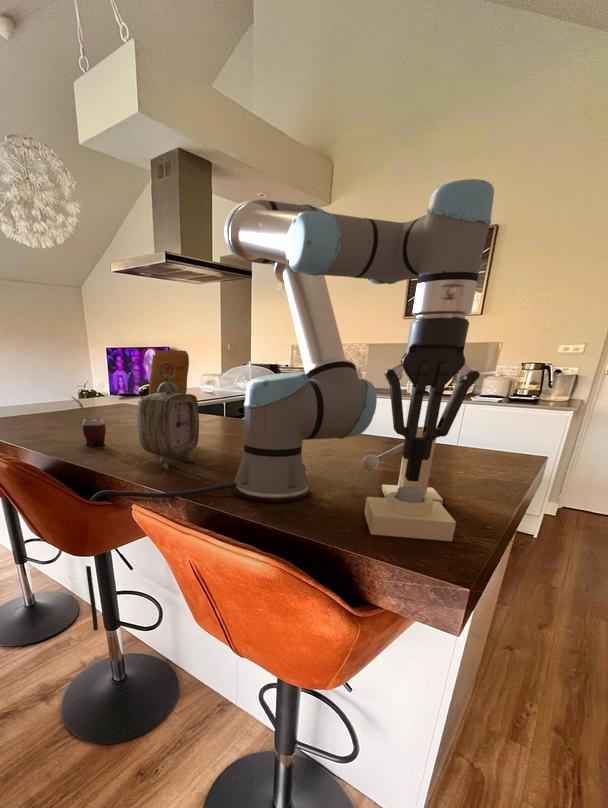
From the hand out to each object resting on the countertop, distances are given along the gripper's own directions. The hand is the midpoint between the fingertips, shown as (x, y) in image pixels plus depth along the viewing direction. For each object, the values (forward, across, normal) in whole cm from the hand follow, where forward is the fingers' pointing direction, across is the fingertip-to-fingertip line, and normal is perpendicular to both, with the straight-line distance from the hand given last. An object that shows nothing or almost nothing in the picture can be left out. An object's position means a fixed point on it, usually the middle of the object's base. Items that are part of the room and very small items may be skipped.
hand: (411, 478), depth 68 cm
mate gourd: (+9, -83, +49) cm, 97 cm away
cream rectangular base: (+8, 0, 0) cm, 8 cm away
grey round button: (+4, 0, 0) cm, 4 cm away
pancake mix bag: (+9, -59, +52) cm, 79 cm away
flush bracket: (+8, +4, +17) cm, 19 cm away
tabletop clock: (+9, -52, +31) cm, 61 cm away
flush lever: (0, +1, +17) cm, 17 cm away
